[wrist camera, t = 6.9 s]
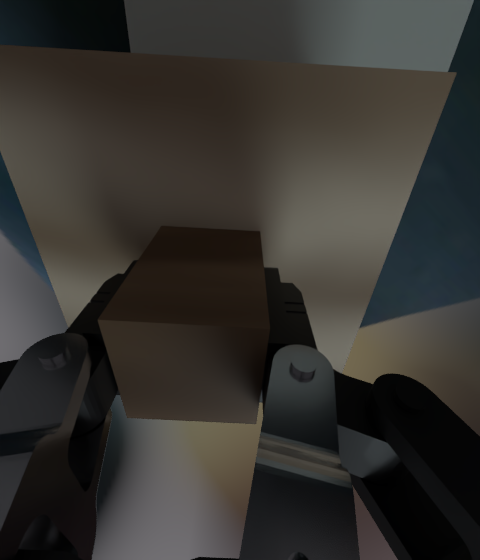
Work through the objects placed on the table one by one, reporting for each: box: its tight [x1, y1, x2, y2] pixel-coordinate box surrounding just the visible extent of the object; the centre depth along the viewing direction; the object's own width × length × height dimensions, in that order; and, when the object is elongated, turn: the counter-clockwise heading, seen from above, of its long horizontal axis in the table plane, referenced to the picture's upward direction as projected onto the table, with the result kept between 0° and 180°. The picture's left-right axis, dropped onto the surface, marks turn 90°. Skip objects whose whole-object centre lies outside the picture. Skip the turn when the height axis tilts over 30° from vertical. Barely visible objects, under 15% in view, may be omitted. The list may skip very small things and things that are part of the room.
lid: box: [0, 45, 456, 424], centre depth 9 cm, size 13×13×6 cm
